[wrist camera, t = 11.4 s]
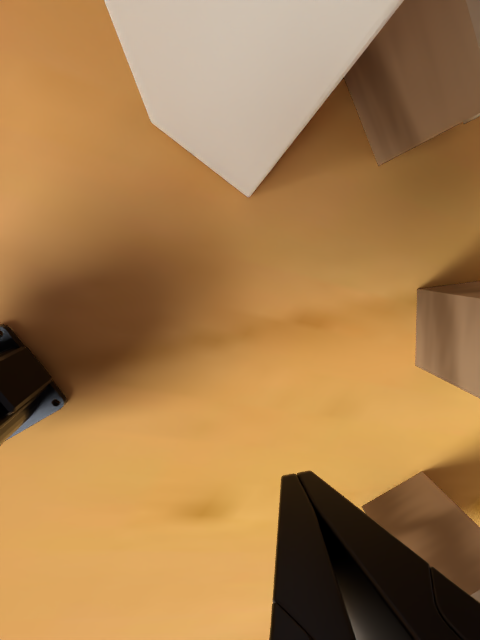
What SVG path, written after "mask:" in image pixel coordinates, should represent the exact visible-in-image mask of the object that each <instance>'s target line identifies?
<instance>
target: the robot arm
mask: <svg viewBox="0 0 480 640" xmlns="http://www.w3.org/2000/svg"><path fill="white" fill-rule="evenodd" d="M0 330H1V331H2V332H3V336H1V335H0V445H1V444H2V443H3V442H4V441H6V440H7V439H9V438H11V437H13V436H14V435H16V434H18V433H19V432H21V431H23V430H25V429H26V428H28V427H30V426H32V425H33V424H35V423H37V422H38V421H40V420H42V419H44V418H45V417H47V416H49V415H50V414H52V413H54V412H56V411H57V410H59V409H61V408H62V407H63V406H64V405H65V404H66V397H65V395H64V394H63V393H62V392H61V391H60V389H59V388H58V387H57V386H56V384H55V383H54V382H53V381H52V379H51V376H50V375H49V374H48V373H47V371H46V370H45V369H44V368H43V366H42V365H41V364H40V363H39V362H38V360H37V359H36V358H35V357H34V355H33V354H32V353H31V352H30V350H29V349H28V348H26V347H25V346H24V345H23V344H22V343H21V341H20V340H19V339H18V338H17V336H16V335H15V334H14V333H13V332H12V330H11V329H10V328H9V327H8V326H6V325H0ZM55 399H57V400H59V401H60V403H56V402H55ZM269 640H480V602H479V601H477V600H476V599H475V598H473V597H472V596H471V595H469V594H468V593H467V592H465V591H464V590H463V589H461V588H460V587H459V586H457V585H456V584H455V583H453V582H452V581H451V580H450V579H448V578H447V577H446V576H444V575H443V574H442V573H441V572H439V571H438V570H437V569H436V568H434V567H433V566H431V567H430V565H429V563H428V562H426V561H425V560H424V559H423V558H421V557H420V556H419V555H418V554H416V553H415V552H414V551H412V550H411V549H410V548H409V547H407V546H406V545H405V544H404V543H402V542H401V541H400V540H398V539H397V538H396V537H395V536H393V535H392V534H391V533H390V532H388V531H387V530H386V529H384V528H383V527H382V526H381V525H379V524H378V523H377V522H376V521H374V520H373V519H372V518H370V517H369V516H368V515H367V514H365V513H364V512H363V511H362V510H360V509H359V508H358V507H356V506H355V505H354V504H353V503H351V502H350V501H349V500H348V499H346V498H345V497H344V496H342V495H341V494H340V493H339V492H337V491H336V490H335V489H334V488H332V487H331V486H330V485H328V484H327V483H326V482H325V481H323V480H322V479H321V478H320V477H318V476H317V475H316V474H314V473H313V472H312V471H305V472H299V473H297V475H296V474H289V475H283V476H282V477H281V489H280V503H279V518H278V532H277V546H276V560H275V575H274V589H273V604H272V614H271V628H270V638H269Z"/></svg>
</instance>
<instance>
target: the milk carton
mask: <svg viewBox="0 0 480 640" xmlns="http://www.w3.org/2000/svg"><path fill="white" fill-rule="evenodd" d="M104 1H105V4H106V7H107V9H108V12H109V14H110V17H111V19H112V22H113V25H114V27H115V30H116V32H117V35H118V38H119V40H120V43H121V45H122V48H123V51H124V53H125V56H126V58H127V61H128V64H129V66H130V69H131V71H132V74H133V77H134V79H135V82H136V84H137V87H138V89H139V92H140V95H141V97H142V100H143V102H144V105H145V108H146V110H147V113H148V115H149V118H150V121H151V122H152V123H153V124H154V125H155V126H156V127H158V128H159V129H160V130H162V131H163V132H164V133H165V134H167V135H168V136H169V137H171V138H172V139H173V140H174V141H176V142H177V143H178V144H180V145H181V146H182V147H183V148H185V149H186V150H187V151H189V152H190V153H191V154H192V155H194V156H195V157H196V158H198V159H199V160H200V161H202V162H203V163H204V164H205V165H207V166H208V167H209V168H211V169H212V170H213V171H214V172H216V173H217V174H218V175H220V176H221V177H222V178H223V179H225V180H226V181H227V182H229V183H230V184H231V185H232V186H234V187H235V188H236V189H238V190H239V191H240V192H241V193H243V194H244V195H245V196H247V197H250V196H251V195H252V194H253V192H254V191H255V190H256V188H257V187H258V186H259V185H260V183H261V182H262V181H263V180H264V178H265V177H266V176H267V174H268V173H269V172H270V171H271V169H272V168H273V167H274V166H275V164H276V163H277V162H278V160H279V159H280V158H281V157H282V155H283V154H284V153H285V151H286V150H287V149H288V148H289V146H290V145H291V144H292V143H293V141H294V140H295V139H296V137H297V136H298V135H299V134H300V132H301V131H302V130H303V129H304V127H305V126H306V125H307V123H308V122H309V121H310V120H311V118H312V117H313V116H314V114H315V113H316V112H317V111H318V109H319V108H320V107H321V106H322V104H323V103H324V102H325V100H326V99H327V98H328V97H329V95H330V94H331V93H332V92H333V90H334V89H335V88H336V86H337V85H338V84H339V83H340V81H341V80H342V79H343V77H344V76H345V75H346V74H347V72H348V71H349V70H350V69H351V67H352V66H353V65H354V63H355V62H356V61H357V60H358V58H359V57H360V56H361V55H362V53H363V52H364V51H365V49H366V48H367V47H368V46H369V44H370V43H371V42H372V40H373V39H374V38H375V37H376V35H377V34H378V33H379V32H380V30H381V29H382V28H383V26H384V25H385V24H386V23H387V21H388V20H389V19H390V18H391V16H392V15H393V14H394V12H395V11H396V10H397V9H398V7H399V6H400V5H401V3H402V2H403V1H404V0H104Z"/></svg>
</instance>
